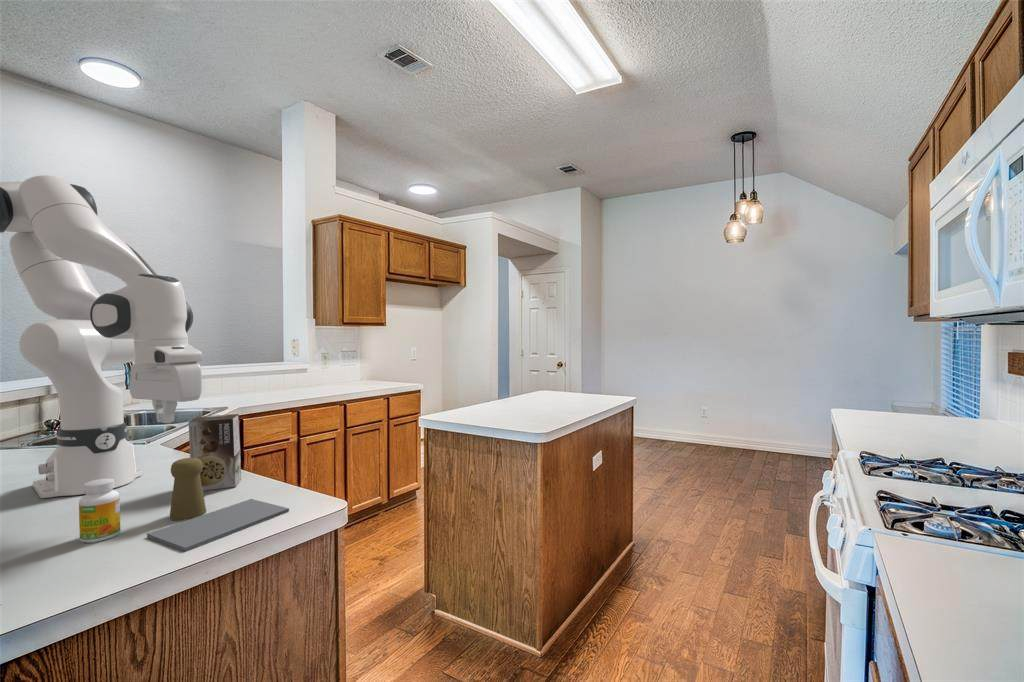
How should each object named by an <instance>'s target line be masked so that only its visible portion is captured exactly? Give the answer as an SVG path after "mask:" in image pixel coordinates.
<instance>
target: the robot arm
mask: <svg viewBox="0 0 1024 682" xmlns="http://www.w3.org/2000/svg"><path fill="white" fill-rule="evenodd" d="M4 232H11V233H14V234H13V235H12V236H11V238H10V239H9V249H10V253H11V257H12V261H13V264H14V266H15V269H16V271H17V273H18V275H19V278H20V279H21V281H22V282H23V285H24V286H25V289H26V290H27V292H28V294H29V296H30V298H31V300H32V302H33V304H34V305H35V306H36V308H37V309H39V310H40V311H41V312H42V313H43V314H46V315H48V316H51V317H53V318H55V319H53V320H52V319H51V320H48V321H47V320H45V321H40V322H35V323H32V324H30V325H28V327H26V328H25V330H24V331H23V332H22V333H21V336H20V338H19V342H18V344H19V350H20V354H21V356H22V357H23V359H24V360H26V362H27V363H29V365H31V366H33V367H35V368H37V369H39V370H40V371H42V373H44V374H45V375H46V376H47V378H48V379H49V380H50V381H51V383H52V385H53V388H54V389H55V391H56V393H57V399H58V405H59V416H60V417H59V418H60V428H59V429H58V431H57V432H58V433H57V435H56V445H57V446H56V448H55V449H54V450H53V452H52V453H51V454H50V455H49V457H47V459H46V460H45V463H40V464H38V467H37V469H38V475H45V477H43V478H41V479H40V478H39V479H37V480H33V482H32V484H31V485H32V488H33V489H34V491H35V492H36V494H37V495H38V496H39V498H40V499H47V498H48V499H50V498H54V497H55V498H56V497H63V496H64V497H65V496H66V497H67V496H78V495H86V493H84V484H85V483H87V482H90V481H94V480H99V479H114V488H113V489H115V488H119V487H122V486H126V484H127V485H128V484H130V483H132V482H133V481H135V479H137V478H138V477H142V476H143V470H140V469H139V470H138V469H137V467H136V466H137V465H136V458H135V449H134V448H135V447H134V444H133V443H132V442H131V441H128V440H127V439H126V438H127V437H128V436H127V435H128V433H127V432H128V428H127V422H125V420H124V417H125V415H124V413H125V412H124V393H123V391H122V390H121V388H120V387H118V386H117V385H115V384H113V383H110V382H109V381H108V380H107V379H106V378H105V376H104V373H103V370H102V367H104V366H105V367H106V366H107V367H108V366H117V365H119V366H120V365H124V364H127V363H132V362H134V363H133V364H132V365H131V367H130V372H129V373H130V374H129V375H130V376H129V393H130V396H131V398H132V399H134V400H150V401H151V402H152V407H153V410H154V412H155V414H156V421H157V423H166V424H168V423H173V422H175V411H176V409H177V406H178V403H180V402H181V403H184V402H193V401H197V400H199V399H200V398H201V395H202V391H203V388H202V387H203V375H202V373H203V372H202V367H201V365H200V362H202V361H203V353H202V351H201V350H199V349H197V348H195V347H194V346H193V345H191V344H190V343H189V336H188V332H189V331H190V329H191V327H192V326H193V322H194V313H193V310H192V308H191V306H190V304H189V303H188V302H187V300H186V294H185V290H184V287H183V283H182V282H181V281H180V280H179V279H177V278H175V277H173V276H167V275H160V274H159V275H158V274H157V273H156V271H154V269H153V268H152V266H150V265H149V264H148V262H146V260H145V259H144V258H143V257H142V256H141V255H140V254H139V253H138V252H137V251H136V250H135V249H134V248H132V247H131V246H130V245H129V244H127V243H126V242H125V241H124V240H122V239H121V238H120V237H118V236H117V234H115V233H114V232H113V231H112V230H111V229H110V228H109V227H107V225H106V224H105V223H104V222H103V221H102V220H101V219H100V218H99V216H98V208H97V203H96V201H95V198H94V196H93V195H92V194H91V192H89V190H87V189H86V188H85V187H83V186H81V185H77V184H72V183H68V182H67V181H66V180H64V179H62V178H59V177H56V176H53V175H45V174H44V175H42V174H41V175H35V176H31V177H29V178H27V179H25V180H24V181H1V182H0V233H2V234H3V233H4ZM83 266H86V267H90V268H93V269H97V270H98V271H102V272H105V273H108V274H110V275H113V276H114V277H117V278H118V279H120V280H121V281H122V282H123V283H125V285H126V286H124V287H122V288H120V289H117V290H115V291H112V292H110V293H109V292H108V293H107V292H106V293H103V294H102V295H101V294H100V293H99V292H98V291H97V289H96V288H95V286H94V284H93V283H92V281H91V279H90V277H89V276H88V274H87V272H86V270H85V268H84V267H83Z"/></svg>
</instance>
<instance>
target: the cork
mask: <svg viewBox="0 0 1024 682" xmlns="http://www.w3.org/2000/svg"><path fill="white" fill-rule="evenodd" d="M202 469H203V463H202V461H201V460H200V459H198V458H190V457H186V458H185V457H184V458H181V459H178V460H175V461H173V463H172V464H171V467H170V473H171V476H172V477H173V478H174V480H173V487H172V495H171V496H172V497H171V503H170V511H169V516H168V517H169V520H171V521H174V522H183V521H186V520H189V519H192V518H195V517H198V516H201V515H204V514H207V507H206V502H205V496H204V490H202V484H201V479H200V473H201V471H202Z"/></svg>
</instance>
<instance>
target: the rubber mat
mask: <svg viewBox="0 0 1024 682" xmlns="http://www.w3.org/2000/svg"><path fill="white" fill-rule="evenodd" d="M288 511H289V512H290V508H289V507H285V506H283V505H282V506H281V505H277V504H273V503H270V502H266V501H262V500H258V499H253V498H250V499H246V500H244V501H241V502H238V503H237V502H236V503H234V504H232V505H229V506H226V507H222V508H220V509H217V510H215V511H211V512H208V513H207V512H206V513H205V514H204V515H201V516H198V517H195V518H192V519H189V520H183V521H179V522H178V523H175V524H172V525H169V526H166V527H163V528H160V529H157V530H154V531H151V532H148V533H146V537H147V538H149V539H150V540H151V539H152V540H155V541H157V542H160V543H162V544H164V545H167V546H170V547H173V548H175V549H177V550H181V551H183V552H188V551H190V550H193V549H195V548H198V547H200V546H203V545H205V544H208V543H212V542H214V541H216V540H219V539H222V538H224V537H226V536H229V535H231V534H234V533H237V532H240V531H242V530H245V529H246V528H250V527H253V526H255V525H257V524H260V523H263V522H266V521H269V520H270V518H271V519H272V518H275V517H279V516H280V514H281V515H284V514H285V513H288Z"/></svg>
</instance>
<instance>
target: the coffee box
mask: <svg viewBox="0 0 1024 682" xmlns="http://www.w3.org/2000/svg"><path fill="white" fill-rule="evenodd" d="M240 432H241V431H240V414H239V413H235V414H233V413H231V414H218V415H217V414H215V415H206V416H205V415H204V416H196V417H194V418H193V419H191V420H189V421H188V440H189V443H188V444H189V458H198V459H200V460H201V461H202V463H203V469H202V471H201V473H200V479H201V484H202V490H203V491H210V490H219V489H228V488H236V487H237V486H238V485H239V483H240V482H241V481H242V461H241V460H242V459H241V436H240V434H241V433H240Z"/></svg>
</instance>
